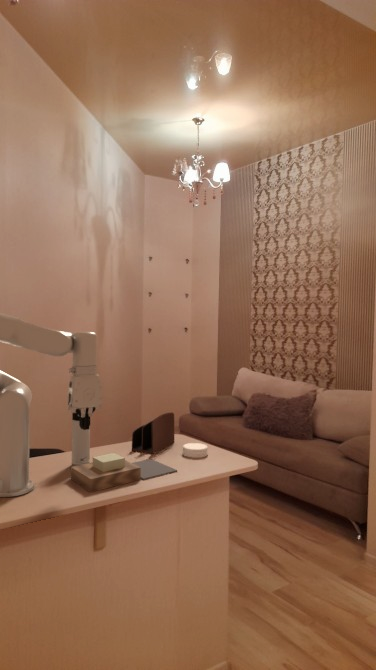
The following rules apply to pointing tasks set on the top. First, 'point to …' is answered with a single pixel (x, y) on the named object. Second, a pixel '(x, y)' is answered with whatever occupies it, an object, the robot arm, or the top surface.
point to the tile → (108, 462)
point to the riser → (104, 476)
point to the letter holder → (154, 434)
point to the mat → (153, 469)
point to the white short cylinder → (195, 450)
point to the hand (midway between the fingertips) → (84, 428)
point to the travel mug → (80, 443)
